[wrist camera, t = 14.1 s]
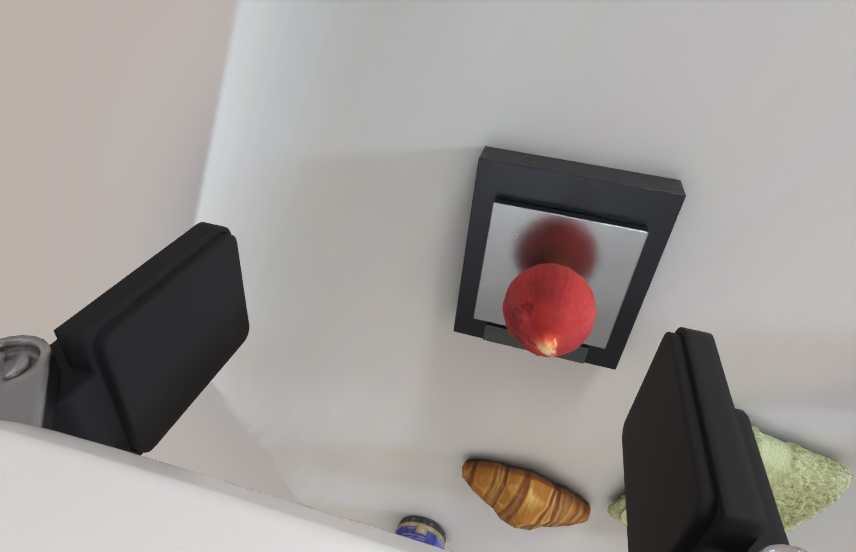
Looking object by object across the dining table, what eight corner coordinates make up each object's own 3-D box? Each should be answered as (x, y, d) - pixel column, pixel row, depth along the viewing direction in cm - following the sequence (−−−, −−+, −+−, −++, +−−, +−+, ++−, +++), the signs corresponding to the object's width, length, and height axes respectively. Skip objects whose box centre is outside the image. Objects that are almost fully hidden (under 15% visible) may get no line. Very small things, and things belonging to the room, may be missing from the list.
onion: (519, 314, 39) (504, 390, 32) (502, 248, 36) (482, 317, 30) (601, 307, 37) (602, 387, 30) (589, 236, 34) (588, 308, 28)
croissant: (456, 475, 57) (446, 517, 53) (472, 438, 53) (462, 480, 49) (576, 520, 56) (575, 566, 51) (602, 485, 52) (603, 532, 48)
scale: (484, 145, 36) (477, 160, 34) (681, 180, 34) (687, 198, 32) (459, 314, 45) (452, 334, 42) (614, 350, 42) (615, 373, 40)
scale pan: (495, 197, 35) (493, 202, 35) (647, 226, 34) (649, 232, 33) (475, 312, 41) (473, 318, 40) (604, 342, 39) (605, 349, 39)
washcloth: (600, 502, 53) (601, 531, 50) (707, 395, 42) (714, 425, 40) (722, 554, 52) (728, 587, 50) (859, 459, 42) (877, 494, 39)
